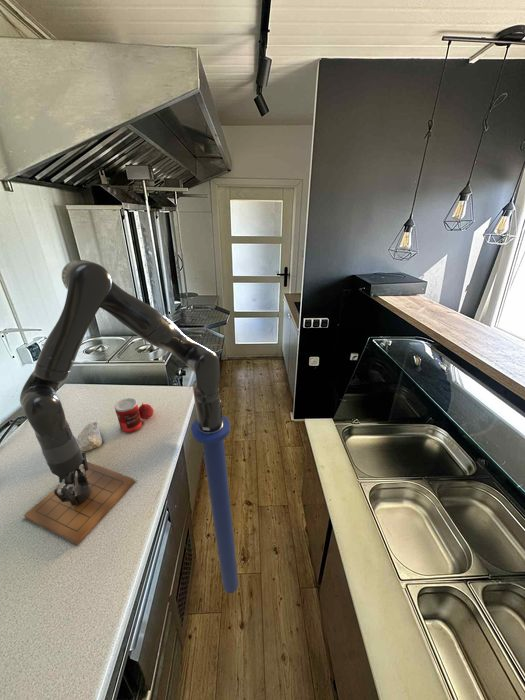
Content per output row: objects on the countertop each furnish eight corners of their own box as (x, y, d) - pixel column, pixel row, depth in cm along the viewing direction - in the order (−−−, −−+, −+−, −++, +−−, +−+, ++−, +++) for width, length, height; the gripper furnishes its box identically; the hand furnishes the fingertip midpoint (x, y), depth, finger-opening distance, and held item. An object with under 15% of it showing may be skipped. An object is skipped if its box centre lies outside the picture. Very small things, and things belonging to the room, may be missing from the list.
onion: (157, 415, 119) (153, 399, 115) (150, 424, 114) (146, 408, 110) (144, 413, 120) (140, 398, 116) (136, 422, 114) (132, 406, 111)
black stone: (82, 486, 87) (79, 479, 85) (94, 491, 85) (92, 484, 84) (67, 500, 82) (64, 493, 81) (80, 506, 81) (76, 499, 80)
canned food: (127, 419, 117) (121, 397, 112) (146, 420, 116) (140, 398, 111) (117, 432, 110) (109, 409, 105) (136, 433, 109) (130, 410, 104)
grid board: (88, 464, 96) (86, 461, 95) (134, 482, 90) (133, 478, 89) (25, 518, 79) (23, 515, 79) (77, 545, 73) (75, 541, 72)
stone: (80, 459, 103) (73, 449, 95) (78, 428, 109) (71, 416, 101) (104, 452, 106) (98, 442, 98) (101, 422, 112) (95, 410, 104)
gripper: (65, 472, 70) (85, 516, 78) (87, 432, 83) (103, 473, 90) (31, 476, 69) (55, 520, 77) (60, 435, 82) (77, 476, 89)
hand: (81, 494), depth 84 cm, fingers closed on black stone, 5 cm apart
